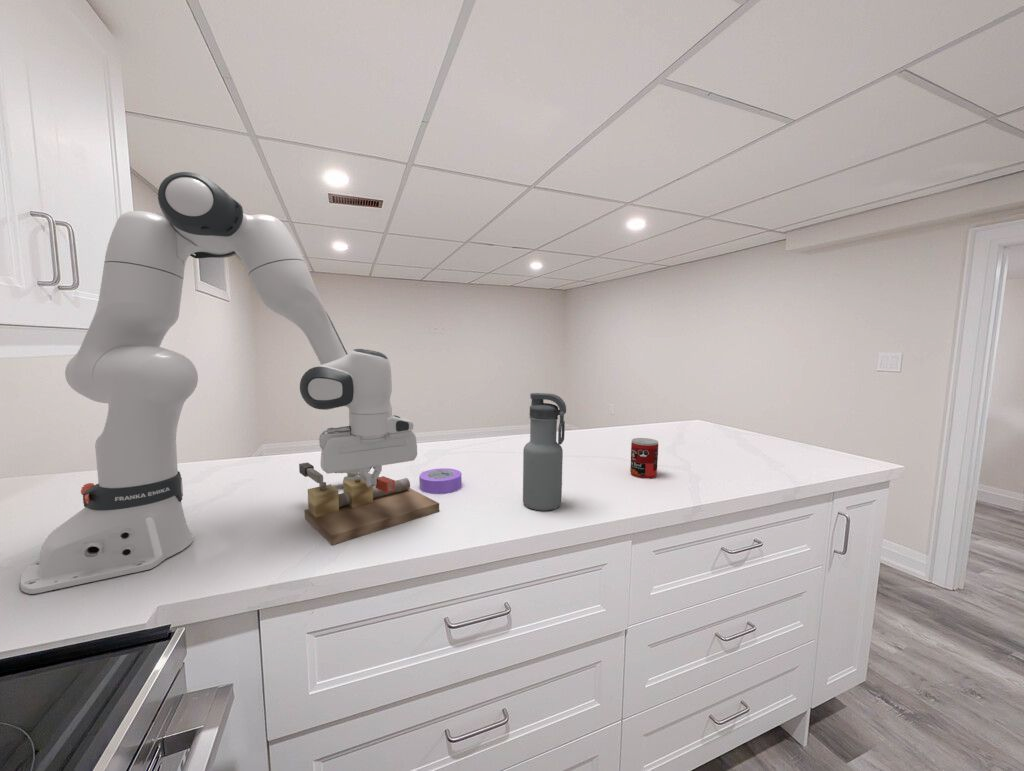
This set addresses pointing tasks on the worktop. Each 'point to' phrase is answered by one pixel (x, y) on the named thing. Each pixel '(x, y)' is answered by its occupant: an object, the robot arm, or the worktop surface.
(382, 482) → the red lever
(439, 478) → the masking tape
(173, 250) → the robot arm
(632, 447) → the canned food
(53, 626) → the worktop surface
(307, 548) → the worktop surface
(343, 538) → the pipe board
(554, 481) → the water bottle
